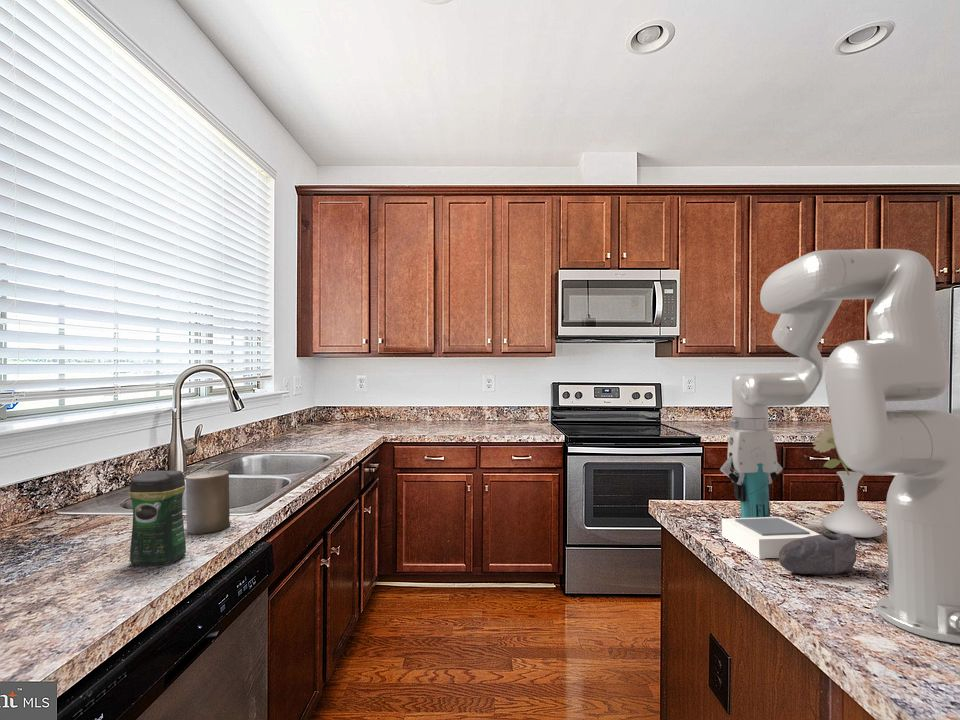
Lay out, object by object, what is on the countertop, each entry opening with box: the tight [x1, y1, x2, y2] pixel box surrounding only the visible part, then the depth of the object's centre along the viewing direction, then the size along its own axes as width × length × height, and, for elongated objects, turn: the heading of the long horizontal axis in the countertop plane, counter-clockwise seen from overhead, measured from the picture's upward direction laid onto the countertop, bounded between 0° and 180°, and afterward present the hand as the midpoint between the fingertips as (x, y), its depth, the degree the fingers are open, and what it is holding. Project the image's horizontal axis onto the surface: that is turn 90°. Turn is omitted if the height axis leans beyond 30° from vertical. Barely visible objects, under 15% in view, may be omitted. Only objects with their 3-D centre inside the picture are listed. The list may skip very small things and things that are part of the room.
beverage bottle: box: [739, 463, 771, 518], centre depth 121 cm, size 6×7×20 cm
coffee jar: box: [129, 470, 187, 566], centre depth 105 cm, size 10×8×19 cm
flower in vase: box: [812, 424, 884, 539], centre depth 114 cm, size 13×11×25 cm
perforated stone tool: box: [778, 533, 857, 576], centre depth 93 cm, size 15×5×7 cm, turn 91°
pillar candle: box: [185, 468, 231, 535], centre depth 126 cm, size 10×10×15 cm
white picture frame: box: [721, 516, 821, 560], centre depth 107 cm, size 14×14×4 cm
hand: (752, 499), depth 121 cm, fingers closed on beverage bottle, 5 cm apart
